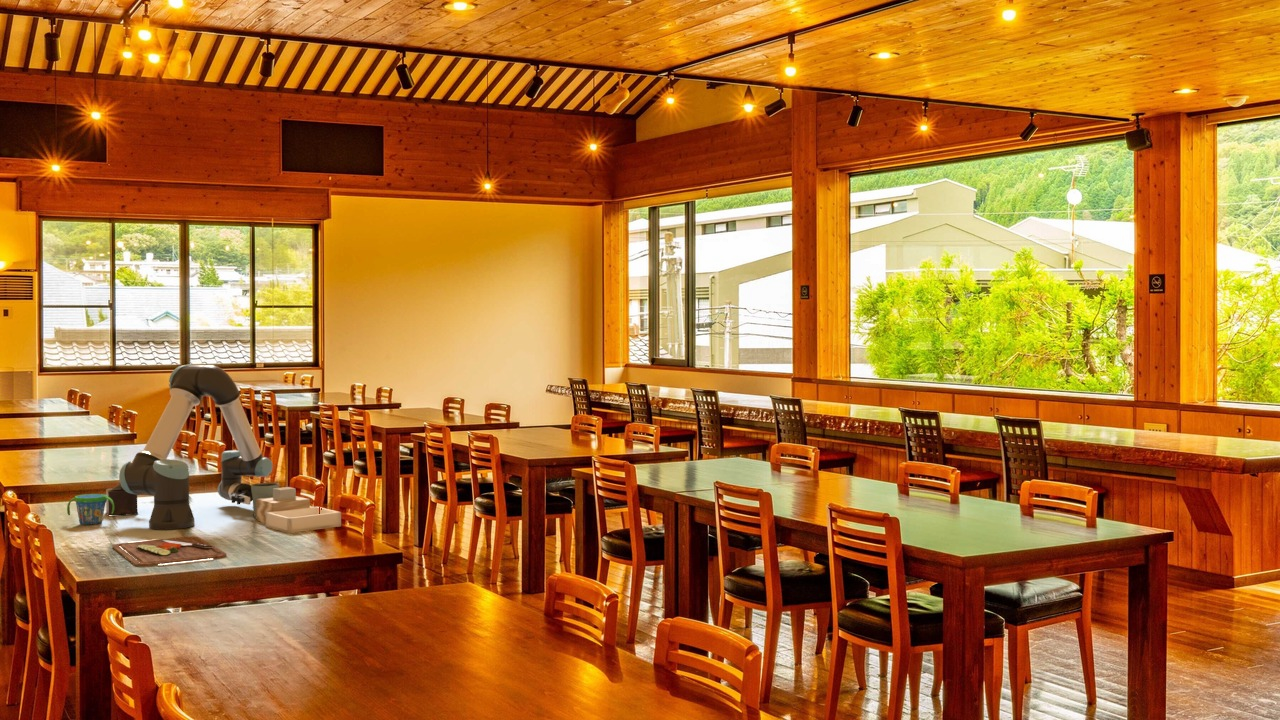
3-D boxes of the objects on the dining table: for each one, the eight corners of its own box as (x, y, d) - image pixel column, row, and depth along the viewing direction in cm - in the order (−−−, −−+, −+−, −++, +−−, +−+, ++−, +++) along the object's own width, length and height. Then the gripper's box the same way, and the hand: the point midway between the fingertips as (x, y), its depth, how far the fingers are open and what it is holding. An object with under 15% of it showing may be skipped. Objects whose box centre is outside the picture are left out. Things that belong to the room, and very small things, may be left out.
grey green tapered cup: (270, 518, 441) (270, 486, 441) (246, 517, 443) (245, 485, 443) (284, 514, 451) (284, 482, 451) (259, 513, 453) (259, 482, 453)
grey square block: (273, 499, 435) (272, 488, 435) (288, 497, 439) (288, 486, 439) (280, 501, 431) (280, 490, 431) (295, 499, 435) (295, 488, 435)
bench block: (256, 520, 437) (256, 499, 436) (292, 516, 446) (292, 495, 446) (273, 525, 426) (273, 503, 426) (309, 521, 436) (309, 499, 435)
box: (265, 526, 424) (265, 512, 424) (317, 520, 438) (317, 506, 438) (288, 533, 411) (288, 518, 411) (341, 526, 424) (341, 512, 424)
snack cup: (118, 520, 438) (117, 493, 437) (109, 525, 427) (108, 497, 427) (73, 521, 435) (72, 494, 435) (63, 526, 425) (62, 498, 425)
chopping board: (109, 547, 389) (109, 537, 389) (194, 538, 404) (194, 529, 404) (138, 570, 352) (138, 560, 352) (231, 560, 367) (231, 550, 367)
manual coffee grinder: (108, 516, 447) (107, 469, 446) (105, 512, 456) (104, 465, 456) (152, 513, 454) (152, 466, 454) (149, 509, 464) (148, 463, 463)
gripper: (272, 499, 472) (297, 505, 456) (210, 506, 455) (234, 512, 439) (272, 480, 471) (297, 485, 456) (210, 486, 455) (234, 492, 439)
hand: (266, 498), depth 447 cm, fingers open, 13 cm apart
